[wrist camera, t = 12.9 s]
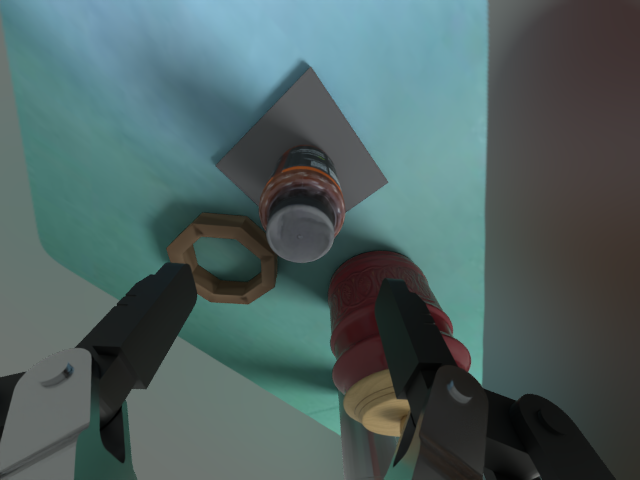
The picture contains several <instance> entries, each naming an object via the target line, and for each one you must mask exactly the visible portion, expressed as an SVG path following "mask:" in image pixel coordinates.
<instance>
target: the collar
mask: <svg viewBox="0 0 640 480" xmlns="http://www.w3.org/2000/svg"><path fill="white" fill-rule="evenodd" d="M200 237H214V238H227V239H236V240H237V241H239V242H240V243H241V244H242V245H244V246H245V247H246V248H247V249H249V250H250V251H251V252H252V253H253V254H255V255H256V256H257V257H258V258H260V259H261V273H260V274H258V275H257V276H255V277H254V278H253V279H251V280H250V281H248V282H239V281H223V280H219V279H218V278H217V277H215V276H214V275H212V274H211V273H209V272H208V271H206V270H205V269H204V268H202V267H201V266H199V265H198V263H197V259H196V255H195V251H194V247H193V243H195V242H196V241H197V240H198V239H199V238H200ZM166 249H167V252H168V256H169V259H170V262H171V263H184V264H189V265H190V267H191V270H192V274H193V277H194V281H195V285H196V289H197V294H198V295H200V296H202V297H203V298H205V299H206V300H208V301H210V302H217V303H234V304H250V303H251V302H253V301H254V300H256V299H257V298H259V297H260V296H262V295H263V294H265V293H266V292H268V291H269V290H271V289H273V288H274V287H275V283H276V278H277V254H276V253H275V252H274V251H273V250H272V248H271V247H270V245H269V244H268V241H267V237H266V233H265V232H264V231H263V230H262V229H261V228H259V227H258V226H257V225H256V224H255V223H254V222H253V221H252V220H250V219H249V218H248V217H247V216H239V215H227V214H214V213H201V214H200V215H199V216H198V217H197V218H196V219H195V220H194V221H193V222H192V223H191V224H190V225H189V226H188V227H187V228H186V229H185V230H184V231H183V232H182V233H181V234H179V235H178V236H177V237H176V239H175V240H174V241H173V242H172V243H171V244H170V245H169V246H168V247H167V248H166Z"/></svg>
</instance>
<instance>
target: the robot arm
mask: <svg viewBox="0 0 640 480" xmlns="http://www.w3.org/2000/svg"><path fill="white" fill-rule="evenodd" d="M196 300H197V289H196V285H195V281H194V277H193V274H192V270H191V267H190V265H189V264H184V263H169V262H168V263H165V264H164V265H163V266H162V267H161V268H160V270H159V271H158V272H157V273H156V274H155V275H152V274H151V275H149V276H147V277H146V278H144V279H143V280H141V281H139V282H138V283H136V284H135V285H134V286H133V287H132V288H131V289H130V291H129V292H128V293H127V294H126V296H125V297H123V298H122V299H121V300H120V301H119V302H118V303H117V306H114V307H113V308H112V309H111V311H110V312H109V313H108V314H107V315H106V316H105V317H104V318H103V319H102V320H101V321H100V322H99V323H98V324H97V325H96V326H95V327H94V328H93V329H92V331H91V332H90V333H89V334H88V335H87V336H86V337H85V338H84V339H83V340H82V341H81V342H80V343H79V344H78V345H77V346H76V347H75V348H72V349H67V350H63V351H60V352H57V353H55V354H53V355H51V356H48V357H47V358H45V359H43V360H42V361H40V362H38V363H37V364H36V365H34V366H33V367H32V368H30V369H29V370H28V371H27V372H22V373H18V374H13V375H9V376H5V377H0V480H137V477H136V474H135V472H134V470H133V465H132V458H131V446H130V434H129V423H128V410H127V402H126V400H125V399H126V397H127V396H128V394H129V393H130V391H131V389H147V387H148V385H149V384H150V382H151V380H152V379H153V377H154V375H155V373H156V371H157V370H158V368H159V366H160V365H161V363H162V361H163V360H164V358H165V356H166V354H167V353H168V351H169V349H170V347H171V346H172V344H173V342H174V340H175V339H176V337H177V335H178V333H179V332H180V330H181V328H182V327H183V325H184V323H185V321H186V320H187V318H188V316H189V314H190V313H191V311H192V309H193V307H194V306H195V303H196ZM375 318H376V322H377V326H378V330H379V334H380V337H381V341H382V345H383V349H384V353H385V357H386V360H387V364H388V368H389V372H390V376H391V380H392V384H393V387H394V391H395V395H396V399H401V400H408V403H409V407H410V410H409V412H408V415H407V418H406V421H405V423H404V426H403V429H402V432H401V435H400V438H399V441H398V444H397V442H396V438H395V436H387V435H381V434H377V433H374V432H371V431H369V430H368V429H366V428H365V427H364V426H363V424H362V423H360V422H358V421H356V420H354V419H353V418H351V417H350V416H349V415H348V414H347V413H346V411H345V409H344V406H343V400H344V396H345V395H344V394H342V393H341V392H340V391H339V390H338V396H339V412H340V426H341V440H342V454H343V468H344V480H483V473H484V475H485V478H486V480H541V479H540V478H539V476H541V478H542V480H616V479H615V477H614V476H613V475H612V473H611V472H610V471H609V469H608V468H607V467H606V465H605V464H604V463H603V461H602V460H601V459H600V457H599V456H598V454H597V453H596V452H595V450H594V449H593V447H592V446H591V445H590V443H589V442H588V441H587V439H586V438H585V437H584V435H583V434H582V433H581V431H580V430H579V428H578V427H577V426H576V424H575V423H574V422H573V421H572V420H571V418H570V417H569V416H568V415H567V414H566V413H564V412H563V411H562V410H561V409H560V408H559V407H558V406H556V405H555V404H553V403H552V402H550V401H549V400H547V399H545V398H543V397H541V396H538V395H534V394H525V395H523V396H522V397H521V398H519V399H518V400H517V401H516V400H513V399H510V398H507V397H505V396H502V395H499V394H496V393H494V392H491V391H489V390H486V389H484V388H483V387H482V386H481V384H480V383H479V382H478V381H477V380H476V379H475V378H474V377H473V376H472V375H471V374H470V373H468V372H467V371H465V370H464V369H462V368H460V367H458V365H457V363H456V362H455V360H454V358H453V356H452V354H451V352H450V350H449V348H448V346H447V344H446V342H445V340H444V338H443V337H442V335H441V333H440V331H439V329H438V327H437V326H436V325H435V321H434V319H433V317H432V316H431V313H430V311H429V309H428V307H427V306H426V304H425V302H424V301H423V300H422V299H421V298H420V297H419V296H418V295H417V294H416V293H414V292H409V290H408V288H407V285H406V283H405V281H404V280H403V279H391V278H384V279H383V281H382V284H381V287H380V290H379V293H378V296H377V299H376V302H375Z"/></svg>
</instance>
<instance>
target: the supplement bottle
mask: <svg viewBox="0 0 640 480" xmlns="http://www.w3.org/2000/svg"><path fill="white" fill-rule="evenodd" d="M259 217H260V220H261V223H262V226H263V228H264V230H265V231H266V237H267V241H268V244H269V245H270V247H271V248H272V250H273V251H274V252H275V253H276V254H277V255H278V256H280V257H281V258H283V259H285V260H288V261H291V262H296V263H306V262H311V261H315V260H317V259H319V258H321V257H322V256H323V255H325V254H326V253H327V252H328V251H329V250H330V248H331V247H332V245H333V242H334V238H335V237H336V235H338V233H339V232H340V230H341V228H342V225H343V223H344V219H345V203H344V199H343V194H342V191H341V187H340V183H339V180H338V176H337V172H336V168H335V166H334V163H333V161H332V160H331V158H330V157H329V156H328V154H327V153H325V152H324V151H323V150H321V149H320V148H317V147H315V146H311V145H298V146H295V147H293V148H291V149H289V150H287V151H286V152H285V153H284V154H283V155H282V156H281V157H280V158H279V160H278V162H277V164H276V166H275V168H274V170H273V172H272V174H271V176H270V178H269V180H268V181H267V183H266V185H265V188H264V190H263V192H262V194H261V197H260V202H259Z"/></svg>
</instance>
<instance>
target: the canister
mask: <svg viewBox="0 0 640 480" xmlns="http://www.w3.org/2000/svg"><path fill="white" fill-rule="evenodd" d="M384 278H391V279H403V280H404V281H405V283H406V285H407V288H408V290H409V292H414V293H416V294H417V295H418V296H419V297H420V298H421V299H422V300H423V301H424V302H425V304H426V306H427V307H428V309H429V311H430V313H431V316H432V317H433V319H434V321H435V325H436V326H437V327H438V329H439V331H440V333H441V335H442V337H443V338H444V340H445V342H446V344H447V346H448V348H449V350H450V352H451V354H452V356H453V358H454V360H455V362H456V363H457V365H458V367H460V368H462V369H464V370H465V371H467V372H468V371H469V369H470V365H471V356H470V353H469V351H468V349H467V348H466V347H465V346H464V345H463V344H462V343H461V342H460V341H458V340H457V339H455V338H454V337H453V326H452V323H451V321H450V319H449V317H448V316H447V315H446V313H444V312H443V310H442V308H441V307H440V305H439V303H438V301H437V300H436V298H435V296H434V294H433V293H432V291H431V289H430V287H429V285H428V281H427V279H426V277H425V276H424V274H423V272H422V271H421V270H420V268H419V267H418V266H417V265H415V264H414V263H413V261H411V260H410V259H409V258H407V257H406V256H404V255H401V254H399V253H395V252H391V251H372V252H367V253H363V254H360V255H357V256H355V257H353V258H351V259H349V260H348V261H346V262H345V263H343V264H342V265H341V266H340V267H339V268H338V269H337V270H336V271H335V273H334V274H333V276H332V278H331V281H330V286H329V289H328V305H329V309H330V318H331V339H330V346H331V350H332V353H333V354H334V356H335V357H336V360H337V361H336V363H335V365H334V367H333V371H332V379H333V382H334V384H335V386H336V388H337V389H338V390H339V391H340V392H341V393H342V394H344V395H345V396H344V400H343V406H344V409H345V411H346V413H347V414H348V415H349V416H350V417H351V418H353V419H354V420H356V421H358V422H360V423H362V424H363V426H364V427H365V428H366V429H368V430H369V431H371V432H374V433H377V434H381V435H387V436H400V435H401V432H402V429H403V426H404V423H405V421H406V418H407V415H408V412H409V410H410V407H409V403H408V400H401V399H396V395H395V391H394V387H393V384H392V380H391V376H390V372H389V368H388V364H387V360H386V357H385V353H384V349H383V345H382V341H381V337H380V334H379V330H378V326H377V322H376V318H375V302H376V299H377V296H378V293H379V290H380V287H381V284H382V281H383V279H384Z"/></svg>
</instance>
